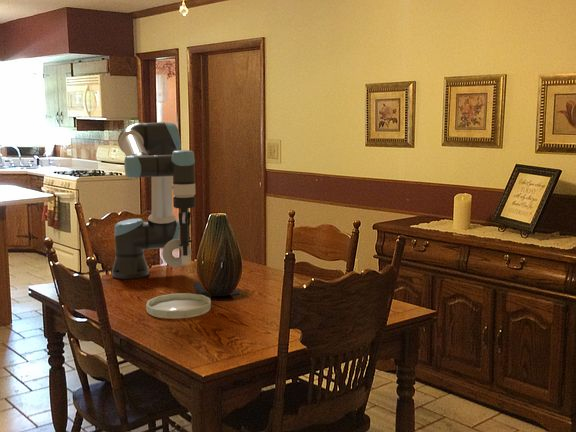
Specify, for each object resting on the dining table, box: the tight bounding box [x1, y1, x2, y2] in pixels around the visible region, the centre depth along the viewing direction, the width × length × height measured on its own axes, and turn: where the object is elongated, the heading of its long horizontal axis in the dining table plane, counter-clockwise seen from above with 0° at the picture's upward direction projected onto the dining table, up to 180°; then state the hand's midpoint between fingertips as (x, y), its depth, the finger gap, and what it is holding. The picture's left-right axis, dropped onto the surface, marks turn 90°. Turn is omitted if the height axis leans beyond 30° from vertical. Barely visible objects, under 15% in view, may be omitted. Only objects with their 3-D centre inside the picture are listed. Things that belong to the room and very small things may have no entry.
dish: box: [145, 292, 212, 320], centre depth 236 cm, size 22×22×3 cm
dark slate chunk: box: [193, 280, 239, 298], centre depth 262 cm, size 15×22×5 cm
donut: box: [161, 238, 192, 268], centre depth 233 cm, size 10×4×10 cm, turn 106°
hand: (186, 262), depth 234 cm, fingers closed on donut, 4 cm apart
